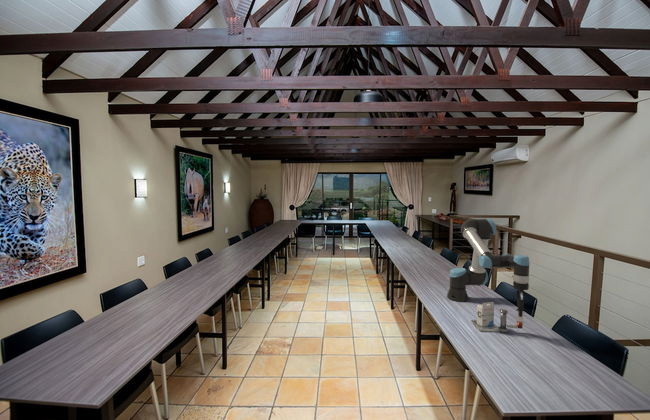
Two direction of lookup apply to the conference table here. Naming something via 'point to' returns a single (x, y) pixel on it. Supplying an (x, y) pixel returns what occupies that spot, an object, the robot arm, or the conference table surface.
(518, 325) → the lever
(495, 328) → the press
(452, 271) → the robot arm
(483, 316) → the ink box
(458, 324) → the conference table surface
